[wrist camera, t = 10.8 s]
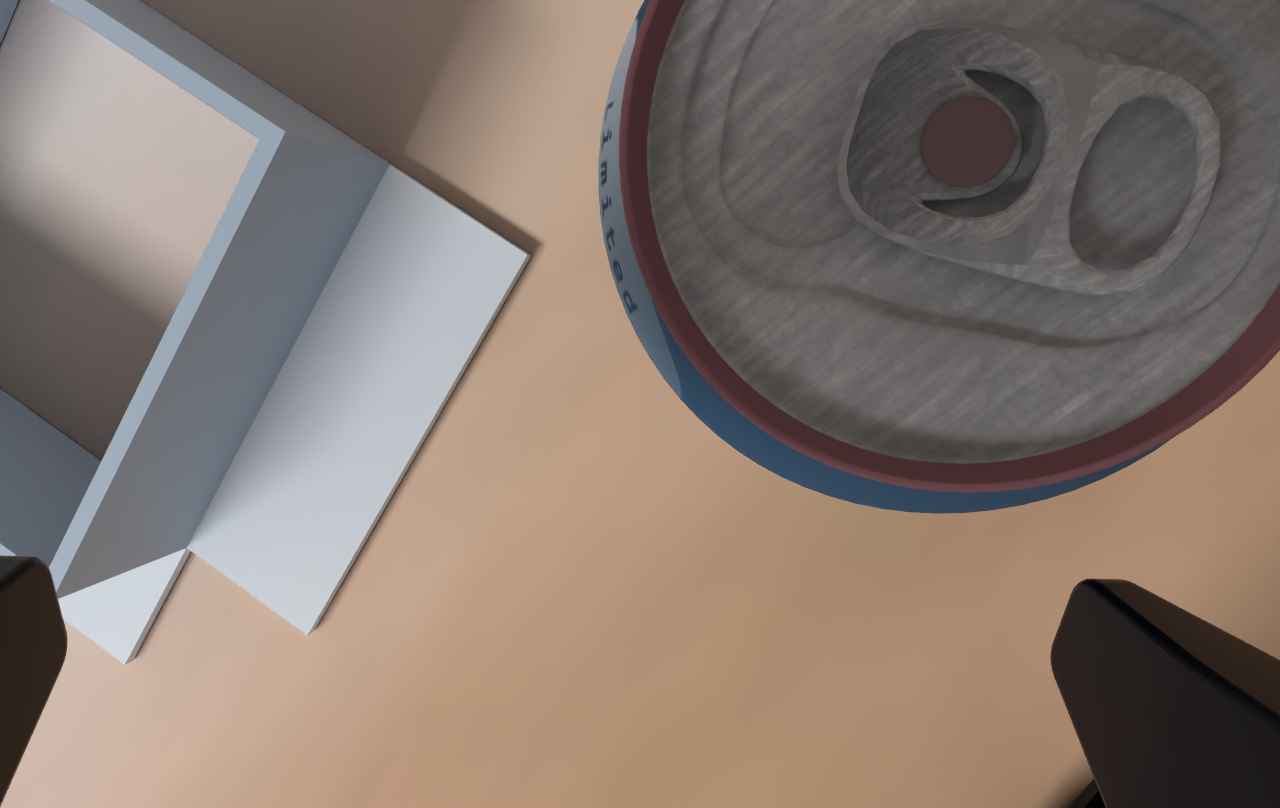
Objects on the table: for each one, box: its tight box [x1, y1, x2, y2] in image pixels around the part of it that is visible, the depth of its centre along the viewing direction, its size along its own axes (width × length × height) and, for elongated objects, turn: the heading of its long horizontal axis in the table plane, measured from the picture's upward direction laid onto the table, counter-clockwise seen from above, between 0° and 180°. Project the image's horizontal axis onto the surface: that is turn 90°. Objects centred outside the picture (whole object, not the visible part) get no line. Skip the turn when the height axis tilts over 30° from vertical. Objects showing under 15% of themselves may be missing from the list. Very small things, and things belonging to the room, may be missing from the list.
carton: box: [0, 0, 531, 665], centre depth 21 cm, size 15×15×4 cm
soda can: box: [599, 0, 1280, 513], centre depth 13 cm, size 7×7×12 cm
